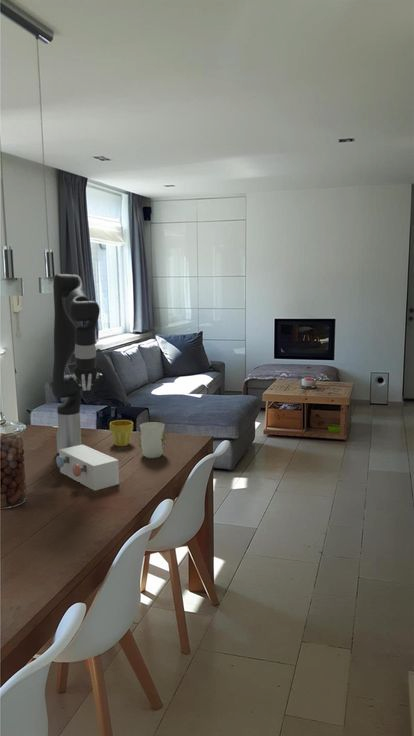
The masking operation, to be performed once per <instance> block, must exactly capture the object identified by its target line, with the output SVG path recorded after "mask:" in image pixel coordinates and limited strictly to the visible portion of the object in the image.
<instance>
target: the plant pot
mask: <svg viewBox="0 0 414 736" xmlns="http://www.w3.org/2000/svg"><path fill="white" fill-rule="evenodd" d="M133 430H134V422H133V421H132V420H129V419H128V420H127V419H120V420H119V419H118V420H113V421H110V423H109V431H110V432H111V436H112V440H113V444H114V445H115V446H117V447H124V446H128V445H130V441H131V436H132V431H133Z"/></svg>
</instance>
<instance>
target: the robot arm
mask: <svg viewBox="0 0 414 736" xmlns="http://www.w3.org/2000/svg"><path fill="white" fill-rule="evenodd" d="M52 287H53V303H54V308H53V309H54V319H53V320H54V322H53V323H54V324H53V327H54V328H53V355H54V356H53V370H52V381H51V389H52V394H53V395H54V397H55V398H57V399H63V398H67V399H66V401H64V402H63V403H61V404H59V405H58V406H57V409H56V411H57V412H56V413H57V425H58V426H57V428H58V429H57V430H56V432H55V433H56V447H57V449H56V450H57V453H58V454H59V449H64V448H69V447H73V446H78V445H82V433H81V432H82V430H81V410H80V409H81V401H82V400H81V394H82V398H83V399H84V400H89V399H90V398H91V390H93V389H95V388H96V387H97V386H98V385H99V384H100V382H101V381H102V379H104V375H103V374H102V373H101V372H98V369H97V348H96V327H97V323H98V320H99V317H100V311H101V309H100V305H99V303H98V302H96V301H95V300H90V299H89V298H88V296H87V295H86V292H85V286H84V282H83V280H82V278H81V276H80V275H78V274H71V273H70V274H68V273H56V274H55V275H54V277H53V286H52ZM63 298H67V302H68V304H69V309H68V310H69V312H68V311H67V309H66V308H65V304H64V302H63ZM68 313H69V314H68ZM74 321H75V322H86V324H84V325H82V326H77V327H76V324H75V322H74ZM73 354H74V365H75V367H74V371H73V373H72V374H65V371H66V367H67V364H68V362H69V360H70V359H71V357H72V356H73ZM94 378H95V379H94Z"/></svg>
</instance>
